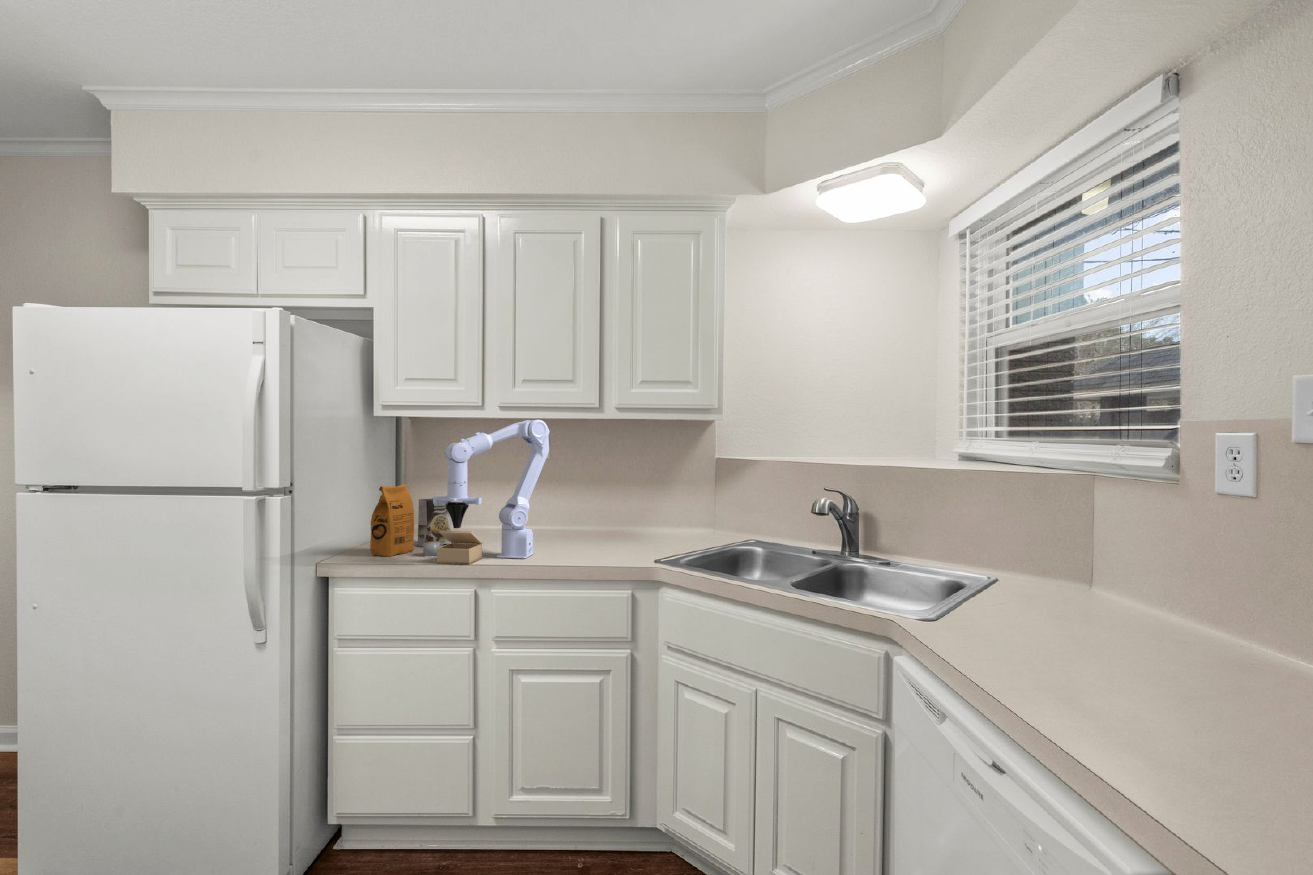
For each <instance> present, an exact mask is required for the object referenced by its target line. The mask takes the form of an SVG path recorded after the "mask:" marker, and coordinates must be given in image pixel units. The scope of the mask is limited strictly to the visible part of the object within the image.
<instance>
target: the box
mask: <svg viewBox="0 0 1313 875" xmlns="http://www.w3.org/2000/svg"><path fill="white" fill-rule="evenodd" d="M482 559H483V543H482V544H466V543H451V542H450V544H447V545H442V546H440V548H437V556H436V560H437V561H436V564H439V565H440V564H441V565H465V566H466V565H467V566H469V565H472V564H474V563H476V562H478V561H480V560H482Z"/></svg>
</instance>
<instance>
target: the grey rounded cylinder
mask: <svg viewBox="0 0 1313 875" xmlns="http://www.w3.org/2000/svg"><path fill="white" fill-rule="evenodd" d="M440 547H441V546H440V542H436V541H431V542H424V543H423V546H422V557H424V556H434V557H437V548H440Z"/></svg>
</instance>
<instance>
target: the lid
mask: <svg viewBox="0 0 1313 875" xmlns="http://www.w3.org/2000/svg"><path fill="white" fill-rule="evenodd" d="M439 533H440V534H441V535H443V536H444V537H445V538H446V539H447V540H448V541H450V544H451V543H461V544H482V545H483V544H484V543H483V541H482V540H481V539H480V538H479V537H478V536H477V535H476V534H475V533H474V532H473V531H470V530H450V531H441V530H439Z"/></svg>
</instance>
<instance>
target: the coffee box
mask: <svg viewBox="0 0 1313 875" xmlns="http://www.w3.org/2000/svg"><path fill="white" fill-rule="evenodd" d="M450 502H452V501H450ZM446 506H447V503H437V504H434V503H433V497H432V498H422V499H418V512H417V513H418V515H417V516H418V517H417V523H418V524H417V546H419V547H423V543H424V542H431V541H436V542H440V545H441V546H444V545H443V544H447V545H448V544H451V542H450V541H448V540H447V539H446V538H445V537H444V536H443V535H441V534H440V533H439V530H441V531H452V530H451V527H452V526H451V522H452V519H451V517H450V514H449V512H448V511H447V509H446Z"/></svg>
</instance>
